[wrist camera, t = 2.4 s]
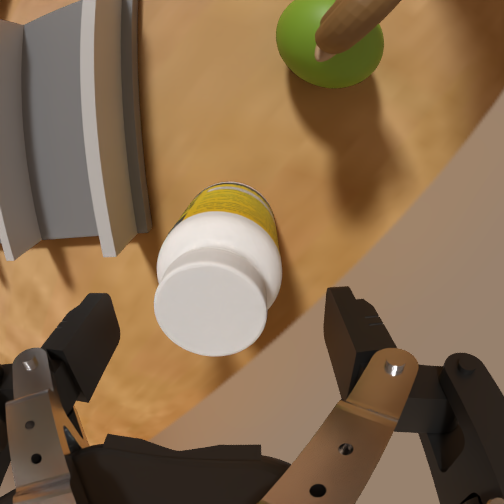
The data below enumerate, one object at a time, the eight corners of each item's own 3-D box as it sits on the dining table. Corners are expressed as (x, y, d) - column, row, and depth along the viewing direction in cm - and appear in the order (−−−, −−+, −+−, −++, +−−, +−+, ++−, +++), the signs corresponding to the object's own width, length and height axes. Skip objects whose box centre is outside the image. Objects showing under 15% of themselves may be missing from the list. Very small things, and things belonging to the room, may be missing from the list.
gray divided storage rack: (-41, 69, 14) (-76, 71, 10) (138, -11, 13) (111, -38, 9) (-22, 241, 20) (-53, 263, 16) (152, 227, 20) (128, 256, 16)
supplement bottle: (192, 173, 18) (135, 227, 9) (282, 188, 19) (308, 256, 10) (182, 255, 20) (137, 356, 11) (264, 269, 21) (272, 379, 12)
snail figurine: (386, 37, 15) (518, -19, 4) (331, 110, 17) (448, 104, 6) (314, -15, 13) (379, -132, 2) (254, 57, 16) (256, -39, 5)
